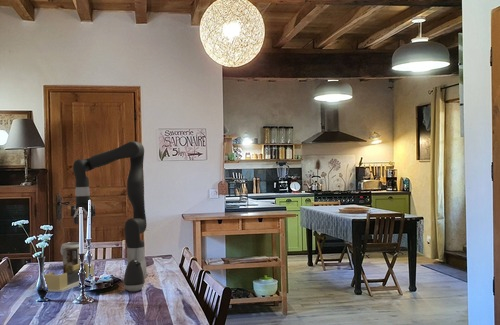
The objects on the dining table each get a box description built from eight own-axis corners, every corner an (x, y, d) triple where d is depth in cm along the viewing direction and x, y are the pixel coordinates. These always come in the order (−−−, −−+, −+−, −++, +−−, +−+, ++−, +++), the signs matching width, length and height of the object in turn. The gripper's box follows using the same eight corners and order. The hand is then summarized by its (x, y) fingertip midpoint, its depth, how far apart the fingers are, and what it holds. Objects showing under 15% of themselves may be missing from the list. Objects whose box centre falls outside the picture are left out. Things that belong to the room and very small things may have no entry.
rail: (86, 277, 265) (86, 268, 265) (61, 287, 244) (60, 277, 244) (78, 277, 266) (78, 268, 266) (52, 287, 245) (52, 277, 245)
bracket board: (96, 278, 268) (96, 263, 268) (61, 291, 239) (61, 275, 239) (77, 277, 271) (77, 263, 271) (41, 290, 242) (40, 274, 242)
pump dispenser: (131, 294, 231) (130, 262, 231) (119, 290, 238) (118, 260, 238) (149, 289, 239) (148, 259, 239) (137, 286, 246) (136, 256, 246)
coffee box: (83, 275, 278) (82, 246, 278) (78, 277, 272) (77, 248, 272) (68, 275, 279) (67, 247, 279) (62, 277, 272) (62, 248, 273)
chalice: (60, 266, 304) (59, 243, 304) (83, 264, 310) (82, 241, 310) (61, 270, 291) (60, 246, 292) (85, 268, 297) (85, 244, 297)
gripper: (97, 194, 271) (98, 223, 271) (75, 194, 275) (76, 223, 275) (89, 195, 264) (90, 225, 264) (67, 195, 268) (67, 225, 267)
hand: (83, 224), depth 269 cm, fingers open, 8 cm apart
